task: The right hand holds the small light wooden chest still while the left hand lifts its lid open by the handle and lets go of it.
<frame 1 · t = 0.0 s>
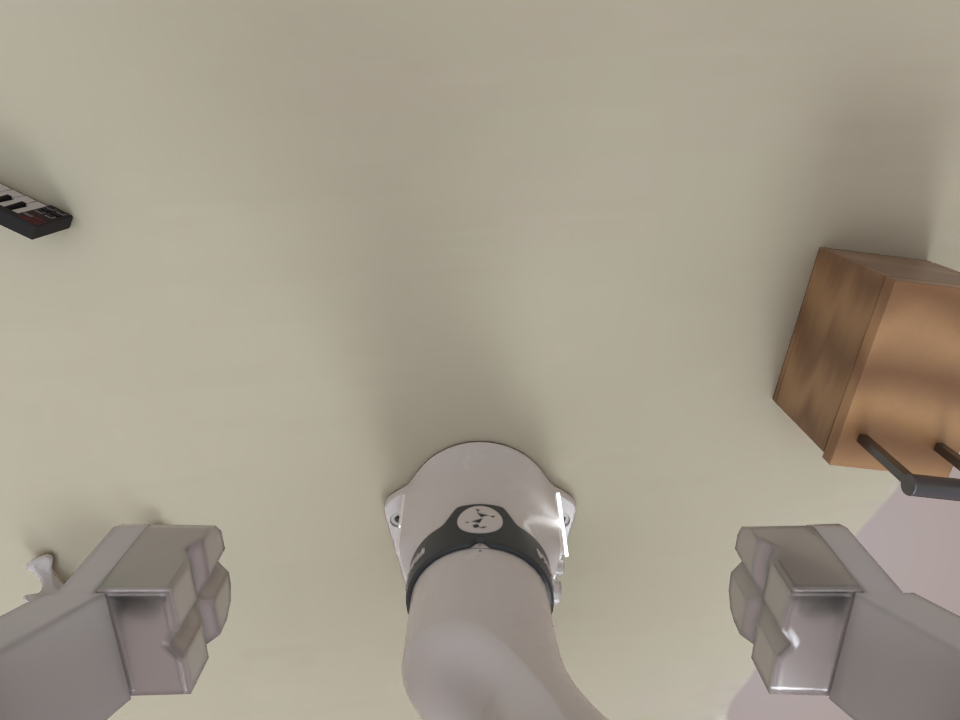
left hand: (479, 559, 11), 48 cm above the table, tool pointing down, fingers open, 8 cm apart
anatomical model: (125, 577, 70), on the table
chest: (847, 332, 60), on the table
lid: (950, 402, 47), point 14 cm above the table, hinge at 0.0°
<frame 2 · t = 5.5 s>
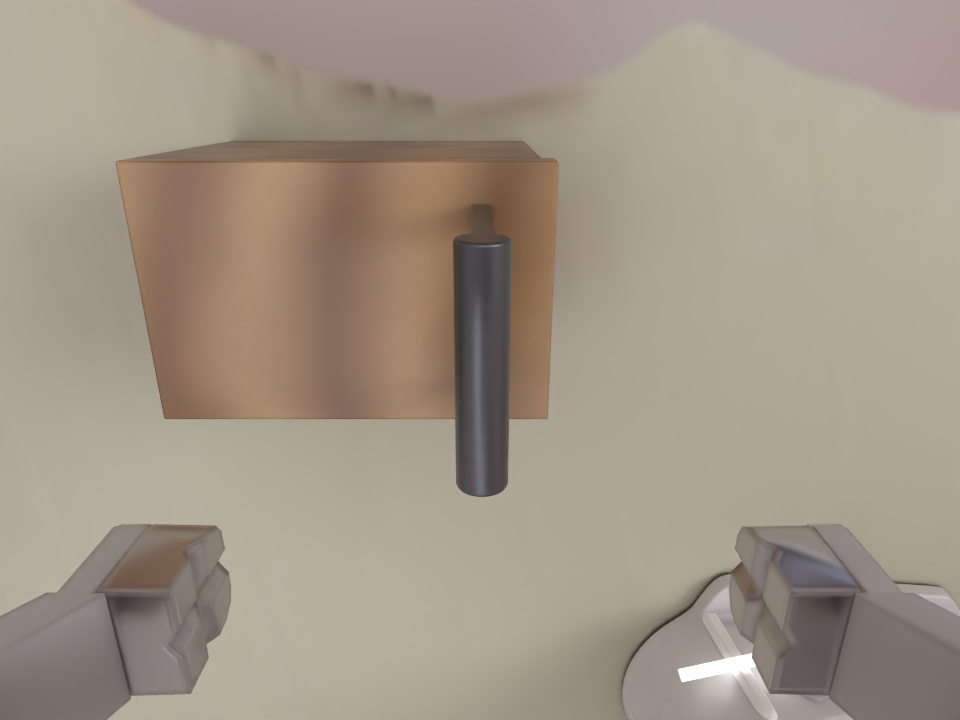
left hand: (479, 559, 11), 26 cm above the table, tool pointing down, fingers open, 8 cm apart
chest: (382, 239, 35), on the table
lid: (329, 326, 21), point 14 cm above the table, hinge at 0.0°
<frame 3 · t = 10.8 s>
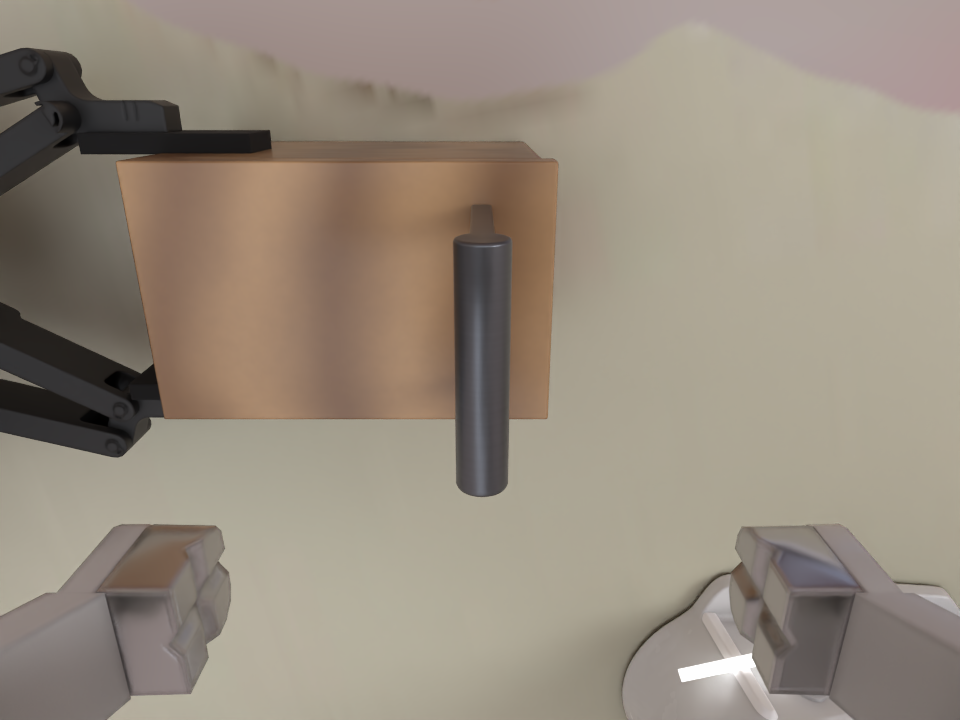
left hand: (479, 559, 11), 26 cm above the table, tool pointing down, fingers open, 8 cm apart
chest: (382, 239, 35), on the table, touching right hand
lid: (329, 327, 21), point 14 cm above the table, hinge at 0.0°
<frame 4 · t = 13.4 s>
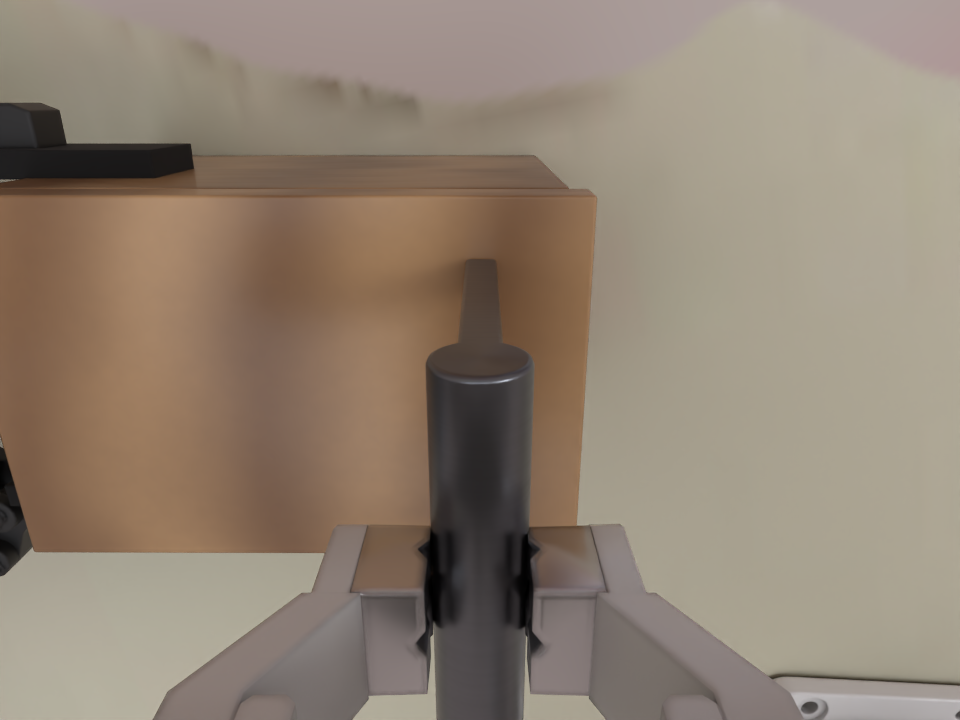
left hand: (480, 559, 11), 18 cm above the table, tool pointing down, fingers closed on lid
chest: (354, 279, 27), on the table, touching right hand
lid: (243, 455, 14), point 14 cm above the table, hinge at 0.5°, touching left hand
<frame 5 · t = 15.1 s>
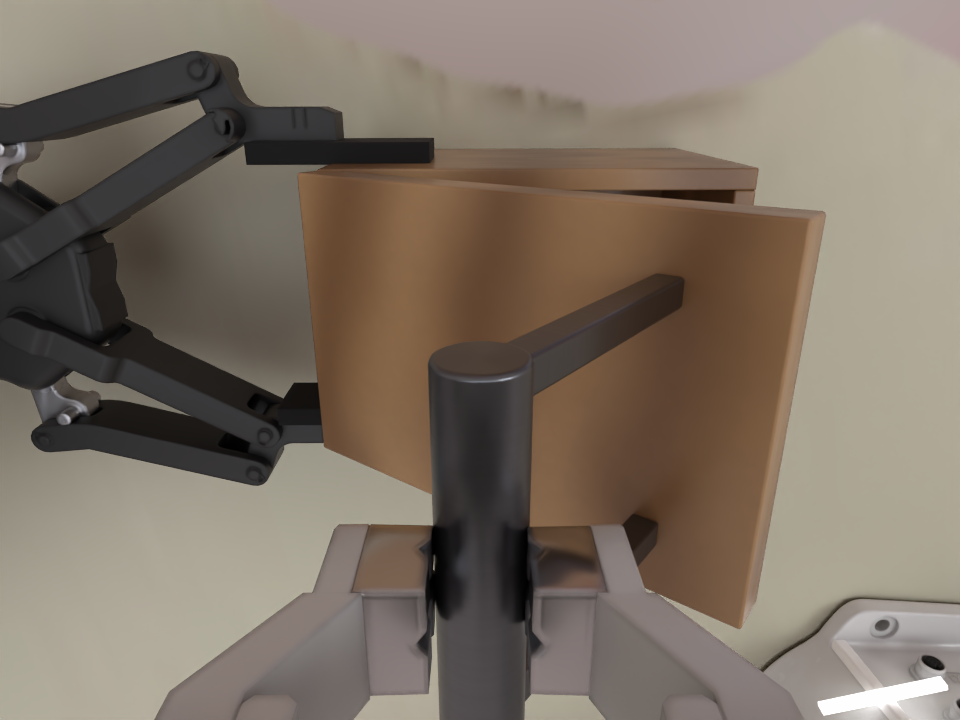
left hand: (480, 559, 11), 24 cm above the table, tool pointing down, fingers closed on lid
right hand: (435, 285, 27), fingers closed on chest, 10 cm apart
chest: (519, 251, 33), on the table, touching right hand
lid: (410, 409, 16), point 18 cm above the table, hinge at 37.4°, touching left hand
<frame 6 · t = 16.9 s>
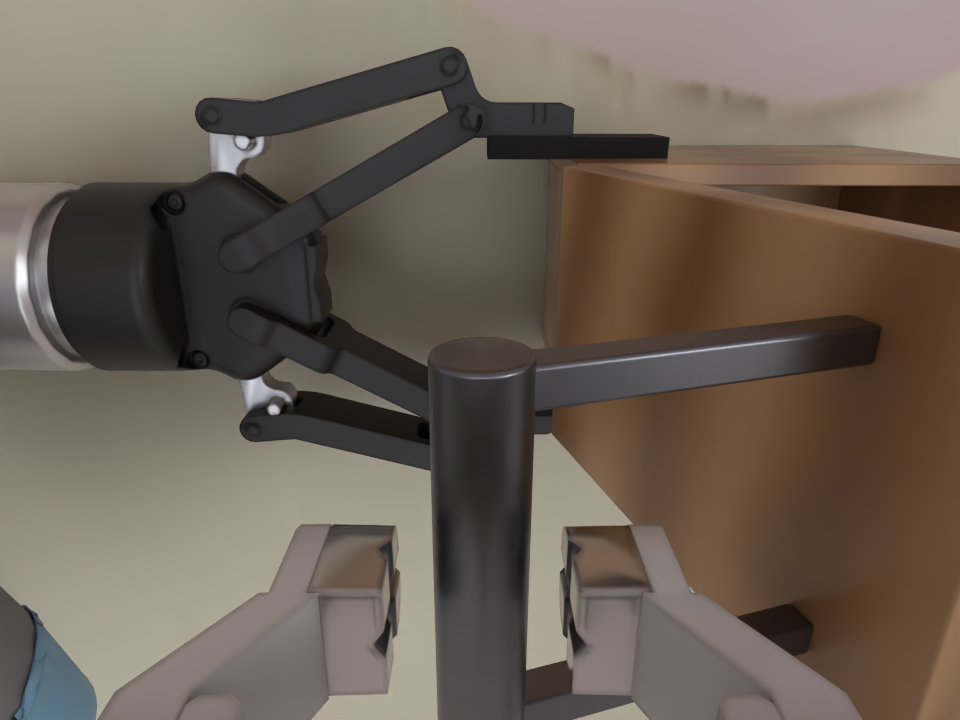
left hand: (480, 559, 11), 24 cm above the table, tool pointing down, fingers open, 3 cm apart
right hand: (646, 279, 27), fingers closed on chest, 10 cm apart
chest: (691, 247, 33), on the table, touching right hand
lid: (563, 409, 16), point 19 cm above the table, hinge at 72.2°
when the right hand's fingers open (6 cm above the table, at t = 20.6 s): chest stays where it is, on the table.
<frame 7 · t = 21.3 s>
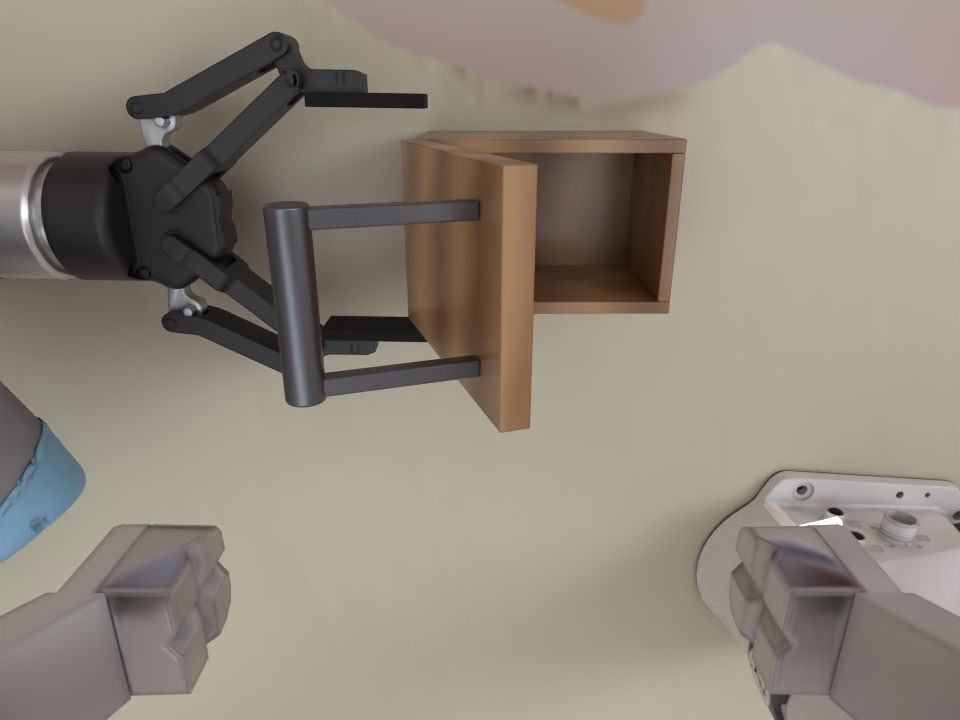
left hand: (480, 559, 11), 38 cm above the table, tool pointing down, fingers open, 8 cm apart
right hand: (428, 222, 40), fingers open, 13 cm apart
chest: (534, 204, 46), on the table
lid: (373, 268, 29), point 19 cm above the table, hinge at 71.1°
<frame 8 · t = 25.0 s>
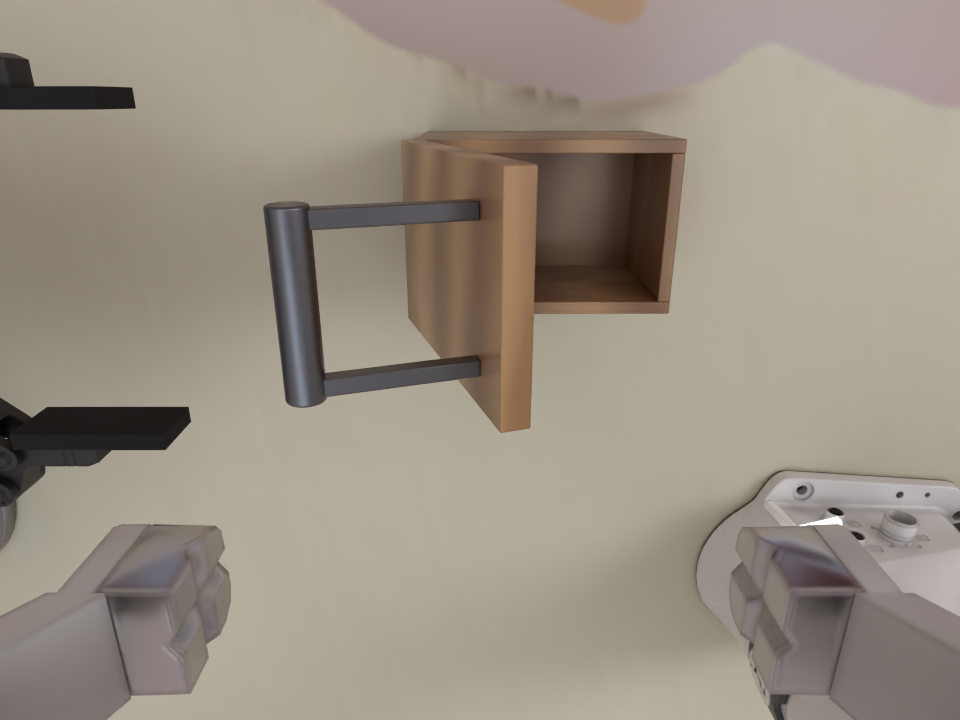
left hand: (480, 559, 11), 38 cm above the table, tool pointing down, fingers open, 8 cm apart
chest: (533, 204, 46), on the table
lid: (373, 268, 29), point 19 cm above the table, hinge at 71.1°
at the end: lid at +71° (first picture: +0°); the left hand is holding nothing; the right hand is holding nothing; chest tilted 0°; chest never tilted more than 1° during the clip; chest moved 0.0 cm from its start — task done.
